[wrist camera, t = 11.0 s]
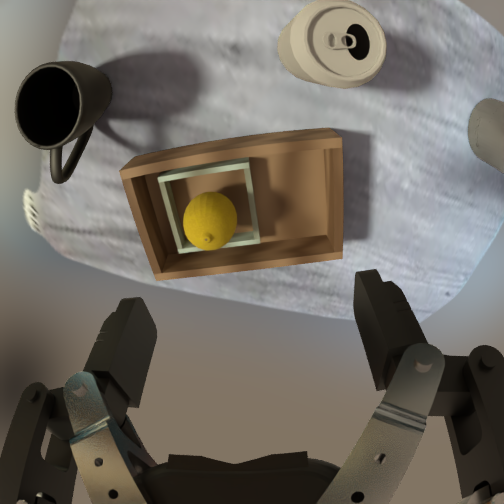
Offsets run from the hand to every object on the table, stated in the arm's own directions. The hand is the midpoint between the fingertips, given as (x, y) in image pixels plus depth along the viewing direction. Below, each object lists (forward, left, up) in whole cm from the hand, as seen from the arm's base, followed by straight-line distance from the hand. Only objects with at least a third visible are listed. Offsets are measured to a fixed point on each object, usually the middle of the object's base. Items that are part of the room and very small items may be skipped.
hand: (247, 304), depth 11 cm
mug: (+17, -8, -26) cm, 31 cm away
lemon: (+5, +6, -24) cm, 26 cm away
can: (-8, -10, -26) cm, 28 cm away
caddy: (+2, +6, -25) cm, 26 cm away
